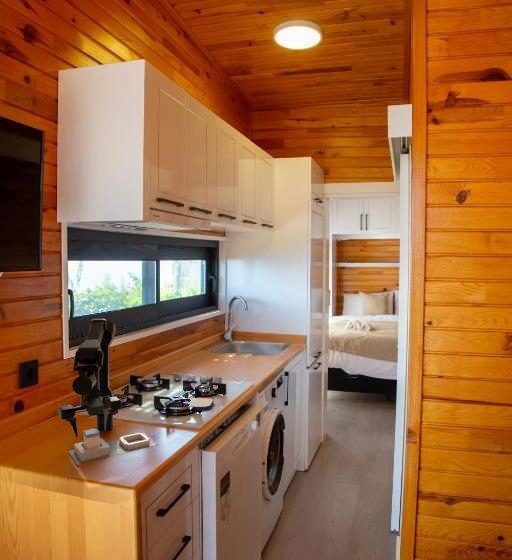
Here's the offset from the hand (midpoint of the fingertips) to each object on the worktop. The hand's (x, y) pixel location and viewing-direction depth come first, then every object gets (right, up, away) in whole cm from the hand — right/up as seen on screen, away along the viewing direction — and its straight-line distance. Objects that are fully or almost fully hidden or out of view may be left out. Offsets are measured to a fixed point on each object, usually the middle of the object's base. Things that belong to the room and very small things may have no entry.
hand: (91, 433), depth 157 cm
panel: (+6, -7, +4) cm, 10 cm away
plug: (0, -6, 0) cm, 6 cm away
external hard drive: (+22, -4, +50) cm, 55 cm away
